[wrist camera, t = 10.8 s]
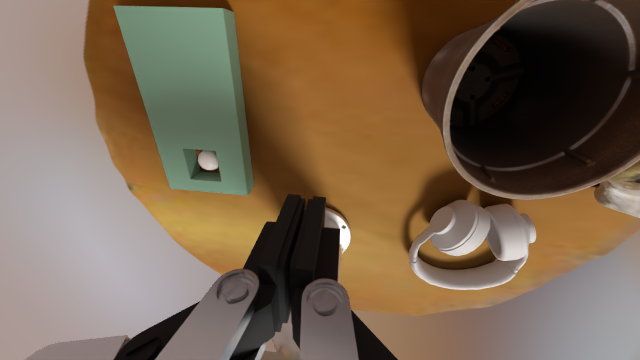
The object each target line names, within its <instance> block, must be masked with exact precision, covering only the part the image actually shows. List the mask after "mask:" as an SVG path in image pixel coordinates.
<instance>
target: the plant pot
mask: <svg viewBox="0 0 640 360" xmlns="http://www.w3.org/2000/svg"><path fill="white" fill-rule="evenodd" d="M493 39H497V40H499V41H501V42H503V43H504V44H505V45H506V46H507V47H508V48H509V51H508V52H504V51H503V50H502V49H501V48H500V47H498V46H496V45H494V44H492V40H493ZM471 66H475V70H474V71H469V68H470V67H471ZM488 76H489V77H490V80H489V81H488V82H485V78H486V77H488ZM458 85H460V88H459V89H457V88H458ZM504 92H508V94H507V95H506V97H505V98H504V99H503V101H502V102H501V103H500V104H499V105H498V106H497V107H495V108H494V109H492V110H491V108H492V106H493V105H494V104H495V102H497V100H498V99H499V98H500V97H501V96H502V94H503V93H504ZM471 95H474V96H475V98H474V99H470V96H471ZM422 99H423V104H424V107H425V109H426V111H427V113H428V114H429V115H430V117H431V118H432V119H433V120H434V122H435V123H436V124H437V126H438V127H439V129H440V131H441V134H442V137H443V142H444V146H445V149H446V152H447V154H448V156H449V158H450V160H451V162H452V164H453V166H454V167H455V168H456V170H457V171H458V172H459V173H460V175H461V176H462V177H463V178H464V179H466V180H467V181H468V182H469V183H471V184H472V185H474V186H475V187H477V188H479V189H481V190H483V191H485V192H488V193H490V194H493V195H496V196H501V197H505V198H511V199H542V198H550V197H556V196H560V195H565V194H569V193H573V192H576V191H579V190H582V189H585V188H588V187H591V186H593V185H596V184H598V183H600V182H603V181H605V180H607V179H609V178H611V177H613V176H615V175H617V174H618V173H620V172H622V171H623V170H625V169H627V168H628V167H630V166H632V165H633V164H635V163H636V162H638V161H639V160H640V0H518V1H517V2H516V3H515V4H513V5H512V6H511V7H509V8H508V9H507V10H506V11H505V12H503V13H502V14H501V15H500V16H498V17H497V18H495V19H494V20H493V21H490V22H488V23H486V24H483V25H481V26H479V27H476V28H474V29H471V30H469V31H466V32H464V33H462V34H460V35H458V36H456V37H455V38H453V39H452V40H450V41H449V42H448V43H446V44H445V45H444V46H443V47H442V48H441V49H440V50H439V51H438V53H437V54H436V55H435V56H434V58H433V59H432V61H431V62H430V64H429V66H428V68H427V70H426V72H425V74H424V77H423V82H422ZM450 116H452V117H453V119H452V120H450Z"/></svg>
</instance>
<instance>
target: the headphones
mask: <svg viewBox="0 0 640 360" xmlns="http://www.w3.org/2000/svg"><path fill="white" fill-rule="evenodd" d="M429 238H431V241H432V243H433V245H434V246H435V248H437V249H438V250H440V251H442V252H444V253H446V254H449V255H454V256H460V255H465V254H467V253H469V252H471V251H473V250H475V249H476V248H477V247H478V246H479V245H480V244H481V243H482V242H483V241H484V239H485V238H486V240H487V242H488V245H489V247H490V249H491V251H492V252H493V254H494V255H495V257H496V258H497V259H498V260H497V261H494V262H491V263H488V264H485V265H482V266H480V267H475V268H469V269H461V270H449V269H441V268H438V267H434V266H431V265H429V264H427V263H425V262H423V261H422V260H421V259H420V258H419V257H418V256H417V253H418V249H419V247H420V245H421V244H423V243H424V242H425V241H426V240H428V239H429ZM535 239H536V232H535V228H534V225H533V223H532V221H531V219H530V218H529V216H528V215H526V214H519V213H518V212H517V211H516V210H515V209H514V208H513V207H512V206H511V205H509V204H506V203H505V204H499V205H493V206H488V207H486V208H484V209H483V208H482V207H480V206H478V205H476V204H474V203H472V202H470V201H467V200H456V201H454V202H452V203H450V204H448V205H447V206H445V207H442V208H440V209H439V210H437V211H436V212H435V214H434V215H433V217H432V218H431V221H430V226H429V227H428V228H427V229H425V230H424V231H423V232H422V233H421V234H420V235H418V236H417V237H416V238H415V240H414V241H413V243H412V246H411V248H410V249H409V263H410V266H411V268H412V270H413V271H414V273H415V274H416V275H417V276H418V277H420V278H421V279H423V280H424V281H426V282H427V283H429V284H433V285H436V286H439V287H443V288H449V289H459V290H469V289H476V290H479V289H483V288H488V287H494V286H498V285H501V284H504V283H506V282H508V281H510V280H511V279H512V278H513V277H514V276H515V275H516V273H517V272H518V271H519V269H520V268H521V267H522V266H523V265H524V264H525V262H526V261H527V257H528V246H529V243H533V242H535Z"/></svg>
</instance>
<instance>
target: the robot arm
mask: <svg viewBox="0 0 640 360" xmlns="http://www.w3.org/2000/svg"><path fill="white" fill-rule="evenodd" d="M350 240H351V231H350V227H349V224H348V223H347V221H346V220H345V218H344V217H343V216H342V215H340V214H339V213H338V212H336V211H334V210H332V209H330V208H326V197H315V196H314V197H313V200H312V199H308V203H307V206H306V207H305V199H301V195H292V194H288V196H287V198H286V200H285V202H284V205H283V207H282V209H281V212H280V214H279V216H278V218H277V221H276V222H266V224H265V225H264V227H263V229H262V231H261V233H260V235H259V237H258V239H257V241H256V243H255V245H254V247H253V249H252V251H251V253H250V255H249V257H248V259H247V261H246V263H245V265H244V267H243V269H235V270H232V271H229V272H227V273H225V274H224V275H222V276H221V277H220V278H219V279H218V280H217V281H216V282H215V283H214V284H213V285H212V287H211V288H210V289H209V291H208V292H207V293H206V295H205V296H204V297H203V299H202V300H201V301H200V302H198V303H196V304H194V305H192V306H190V307H188V308H186V309H185V310H182V311H181V312H179V313H177V314H175V315H173V316H171V317H169V318H167V319H165V320H163V321H162V322H160V323H158V324H156V325H154V326H152V327H150V328H148V329H146V330H145V331H143V332H141V333H139V334H138V335H136V336H135V337H133V338H128V336H127V335H125V336H115V337H107V338H98V339H89V340H79V341H70V342H61V343H56V344H52V345H48V346H46V347H44V348H42V349H41V350H38V351H36V352H35V353H34V354H32V355H31V356H30V357H28V358H27V359H25V360H398V359H397V358H396V357H395V356H394V355H393V354H392V353H391V352H390V351H389V350H388V349H387V348H386V347H385V346H384V345H383V343H382V342H381V341H380V340H379V339H378V338H377V337H376V336H375V335H374V334H373V333H372V332H371V331H370V329H368V328H367V326H366V325H365V324H364V323H363V322H362V321H361V320H360V319H359V318H358V317H357V316H356V314H355V313H354V312H353V311H352V310H351V308H350V301H349V297H348V294H347V291H346V290H345V288H344V287H343V286H342V285H341V262H342V253H343V252H344V251H345V250H346V249H347V247H348V246H349V244H350ZM270 339H272V342H273V344H274V347H275V349H276V352H269V351H264V350H265V346H266V342H267V341H269V340H270Z"/></svg>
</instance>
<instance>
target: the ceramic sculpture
mask: <svg viewBox="0 0 640 360" xmlns="http://www.w3.org/2000/svg"><path fill="white" fill-rule="evenodd" d="M594 196H595V198H596V200H597V201H598V202H599V203H600V204H602V205H603V206H605V207H608V208H611V209H614V210H617V211H620V212H623V213H626V214H629V215H632V216H635V217H638V218H640V160H639V161H638V162H636V163H635V164H633V165H632V166H630V167H628V168H627V169H625V170H623V171H622V172H620V173H618V174H617V175H615V176H613V177H611V178H609V179H607V180H605V181H603V182H600V186H598V187H596V189H595V191H594Z"/></svg>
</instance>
